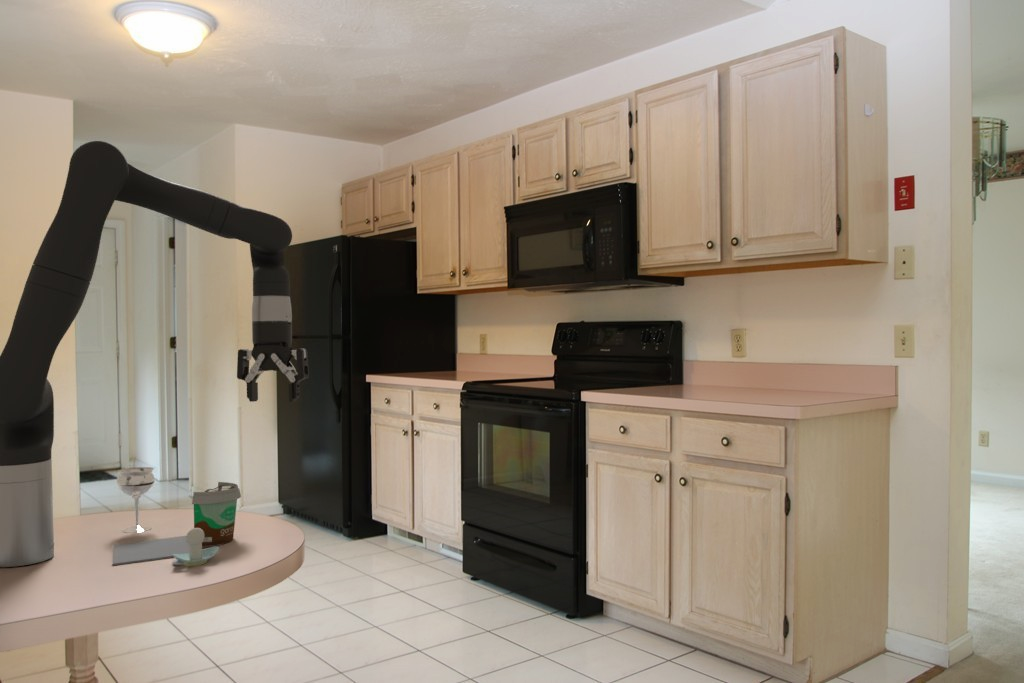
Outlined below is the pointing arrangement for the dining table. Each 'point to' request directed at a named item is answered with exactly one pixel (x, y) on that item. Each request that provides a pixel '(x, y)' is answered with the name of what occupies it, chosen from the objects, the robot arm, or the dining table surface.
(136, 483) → the wineglass
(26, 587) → the dining table surface
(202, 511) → the food container
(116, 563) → the mat
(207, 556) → the pacifier
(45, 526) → the robot arm
